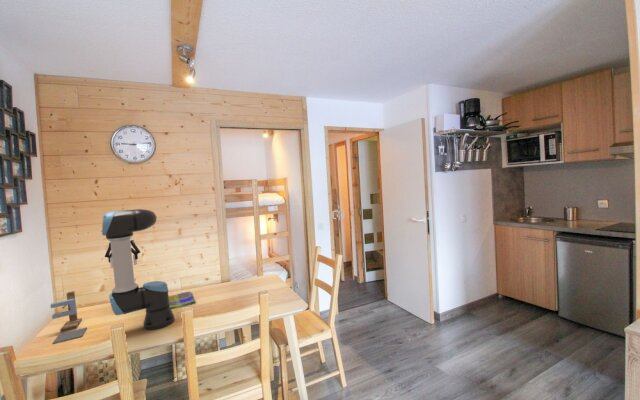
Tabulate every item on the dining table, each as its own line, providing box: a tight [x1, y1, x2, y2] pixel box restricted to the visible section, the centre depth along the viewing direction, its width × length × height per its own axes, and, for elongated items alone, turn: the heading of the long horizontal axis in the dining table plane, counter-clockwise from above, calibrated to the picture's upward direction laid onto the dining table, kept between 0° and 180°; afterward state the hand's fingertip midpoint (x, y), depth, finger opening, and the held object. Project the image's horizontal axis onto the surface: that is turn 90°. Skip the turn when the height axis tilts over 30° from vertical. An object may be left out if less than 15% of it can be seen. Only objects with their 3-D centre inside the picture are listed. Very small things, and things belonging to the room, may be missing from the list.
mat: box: [52, 327, 88, 345], centre depth 158 cm, size 12×12×1 cm
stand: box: [59, 290, 83, 333], centre depth 169 cm, size 18×7×18 cm, turn 28°
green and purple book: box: [168, 291, 196, 311], centre depth 197 cm, size 18×24×3 cm
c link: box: [50, 297, 78, 320], centre depth 164 cm, size 10×2×8 cm, turn 118°
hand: (124, 265), depth 194 cm, fingers open, 13 cm apart
